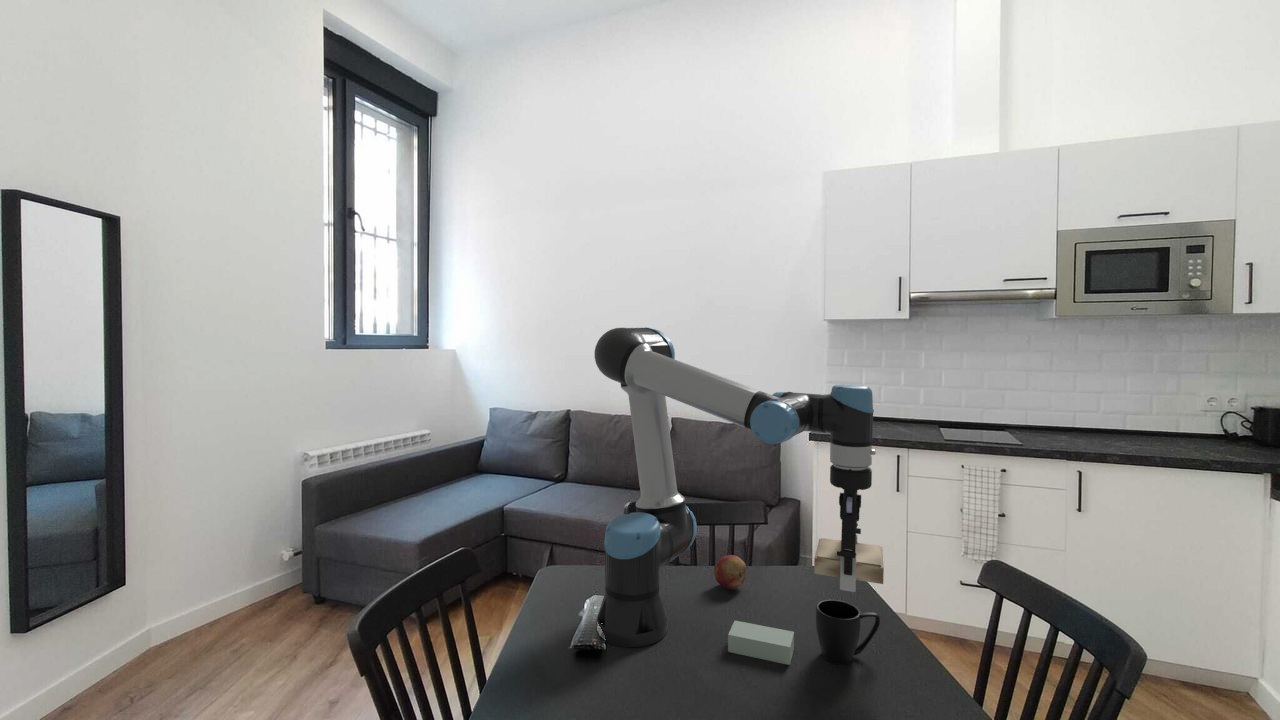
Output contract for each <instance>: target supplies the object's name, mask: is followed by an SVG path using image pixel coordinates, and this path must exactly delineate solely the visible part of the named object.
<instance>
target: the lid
mask: <svg viewBox="0 0 1280 720" xmlns="http://www.w3.org/2000/svg"><path fill="white" fill-rule="evenodd" d="M844 550H849V549H844ZM837 551H838V552H840V551H841V540H839V539H830V538H823V537H821V538H819V539H818V543H817V547H816V551H815V556H814V561H813V562H814V566H813V567H814V570H813V573H814V575H820V576H828V577H833V578H839V579H840V559H841V556H837ZM850 551H852V550H850ZM855 553H856V581H860V582H868V583H873V584H881V585H884V575H885V574H884V573H885V571H884V568H885V566H884V553H883V546H881V545H877V544H876V545H875V544H869V543H863V542H857V543H856V552H855Z"/></svg>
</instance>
